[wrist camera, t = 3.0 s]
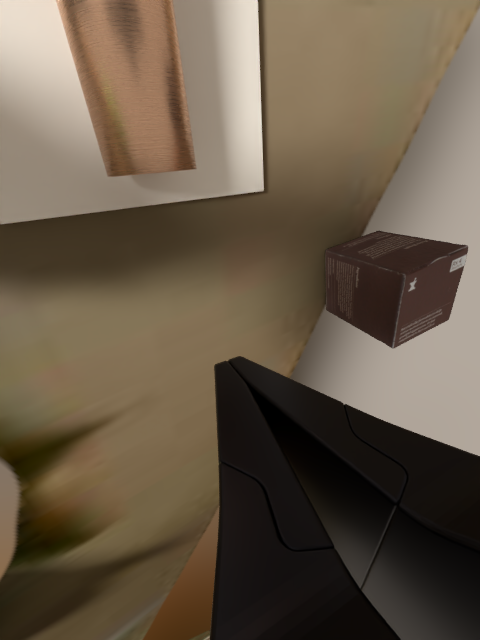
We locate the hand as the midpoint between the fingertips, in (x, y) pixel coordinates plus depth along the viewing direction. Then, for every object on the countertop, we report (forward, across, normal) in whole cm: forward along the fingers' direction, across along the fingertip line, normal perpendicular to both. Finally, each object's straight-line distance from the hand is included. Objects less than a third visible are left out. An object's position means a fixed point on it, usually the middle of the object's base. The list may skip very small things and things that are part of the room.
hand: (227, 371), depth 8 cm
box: (+11, -16, +4) cm, 20 cm away
